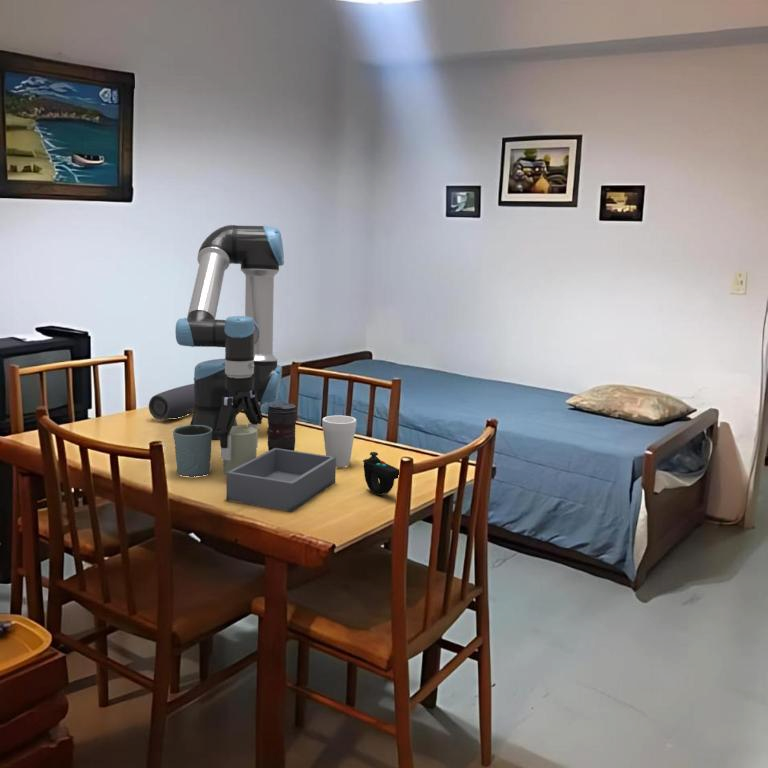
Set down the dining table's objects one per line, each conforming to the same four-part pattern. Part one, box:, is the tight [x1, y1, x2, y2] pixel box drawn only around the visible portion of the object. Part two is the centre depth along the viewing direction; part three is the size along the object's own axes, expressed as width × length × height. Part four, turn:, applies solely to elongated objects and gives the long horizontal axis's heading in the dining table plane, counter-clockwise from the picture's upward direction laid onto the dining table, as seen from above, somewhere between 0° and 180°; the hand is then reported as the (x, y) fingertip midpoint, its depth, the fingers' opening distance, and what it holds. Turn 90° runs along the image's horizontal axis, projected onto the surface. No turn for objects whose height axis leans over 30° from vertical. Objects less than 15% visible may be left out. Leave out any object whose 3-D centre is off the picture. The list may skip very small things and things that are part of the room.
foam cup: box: [321, 414, 357, 468], centre depth 229 cm, size 10×9×13 cm
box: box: [225, 448, 337, 513], centre depth 206 cm, size 24×18×7 cm
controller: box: [362, 451, 400, 496], centre depth 206 cm, size 4×12×10 cm, turn 37°
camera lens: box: [266, 402, 297, 451], centre depth 235 cm, size 8×8×15 cm
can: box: [222, 425, 257, 475], centre depth 220 cm, size 9×9×12 cm
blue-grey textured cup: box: [172, 424, 213, 477], centre depth 217 cm, size 10×10×12 cm
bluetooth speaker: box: [148, 383, 195, 420], centre depth 277 cm, size 23×9×10 cm, turn 157°
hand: (239, 453), depth 220 cm, fingers open, 13 cm apart
